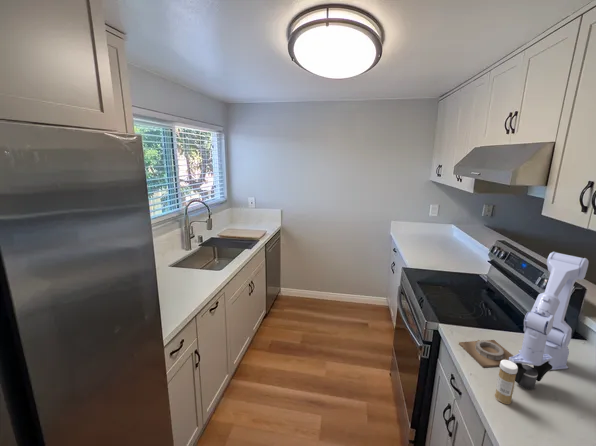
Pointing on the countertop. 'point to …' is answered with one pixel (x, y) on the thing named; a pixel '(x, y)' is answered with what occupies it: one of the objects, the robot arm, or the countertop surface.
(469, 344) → the mount board
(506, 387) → the sprinkles bottle
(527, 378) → the lens
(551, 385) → the countertop surface
